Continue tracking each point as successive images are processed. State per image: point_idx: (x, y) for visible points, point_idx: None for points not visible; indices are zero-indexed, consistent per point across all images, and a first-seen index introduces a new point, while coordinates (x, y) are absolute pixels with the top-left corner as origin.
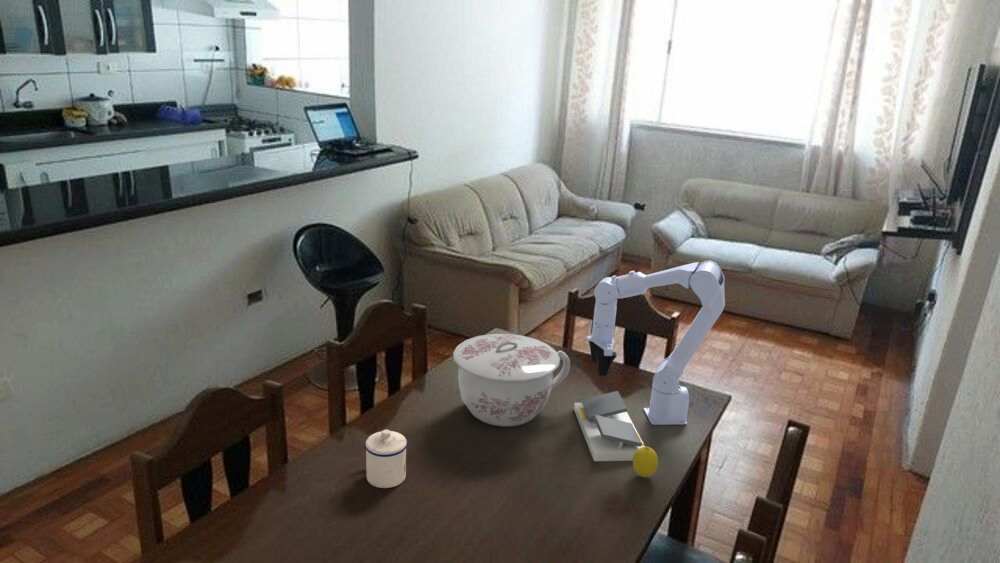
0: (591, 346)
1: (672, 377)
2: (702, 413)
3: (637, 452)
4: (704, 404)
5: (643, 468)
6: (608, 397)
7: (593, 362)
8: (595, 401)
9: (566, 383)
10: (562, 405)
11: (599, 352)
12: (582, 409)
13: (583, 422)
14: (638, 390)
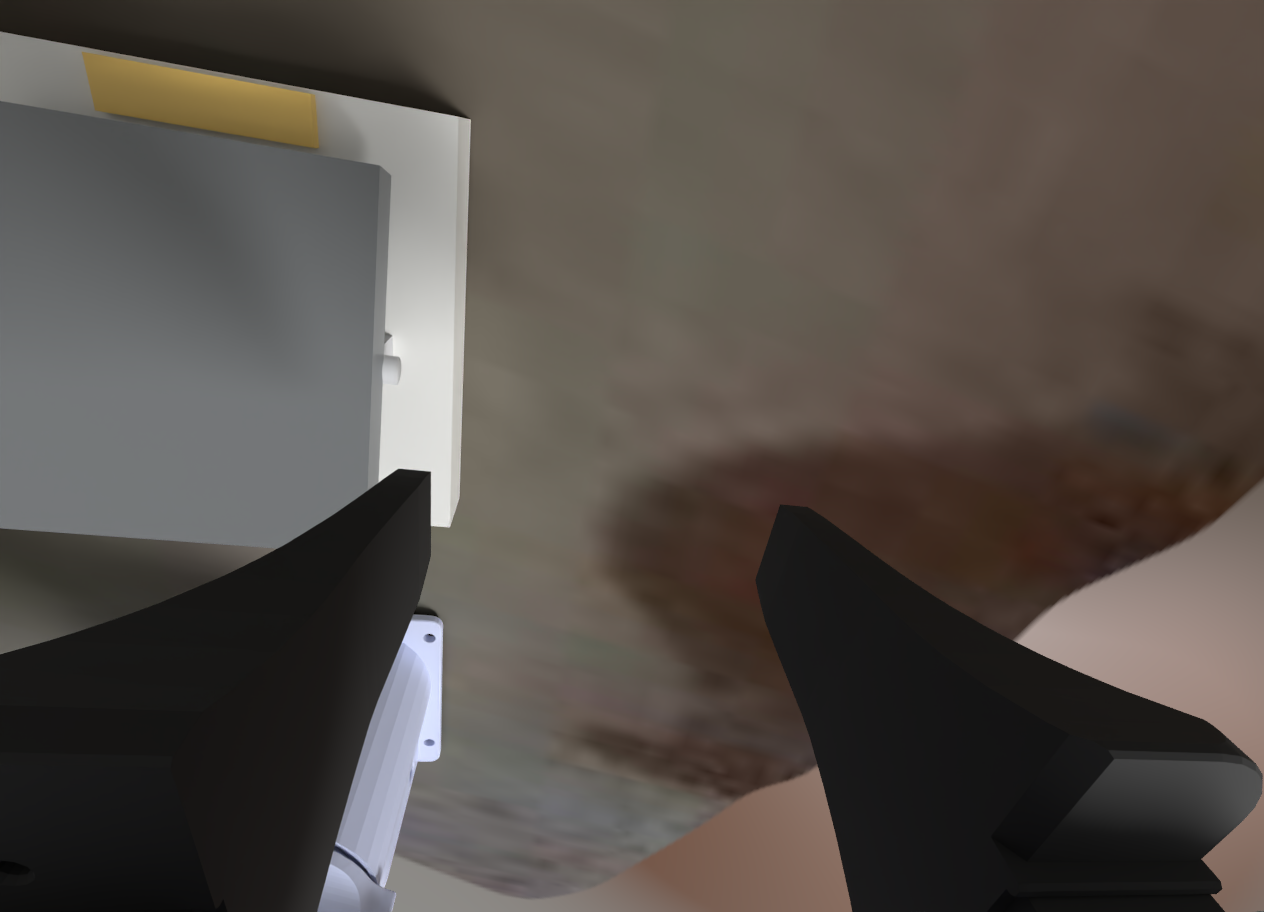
0: (924, 662)
1: None
2: (402, 823)
3: None
4: (487, 848)
5: None
6: (281, 438)
7: (776, 516)
8: (266, 293)
9: (917, 230)
10: (554, 23)
11: (16, 853)
12: (292, 144)
13: (21, 50)
14: (675, 655)
